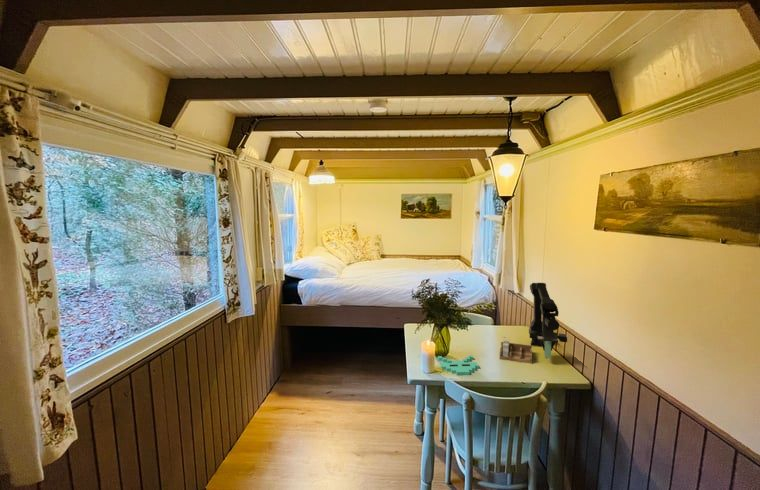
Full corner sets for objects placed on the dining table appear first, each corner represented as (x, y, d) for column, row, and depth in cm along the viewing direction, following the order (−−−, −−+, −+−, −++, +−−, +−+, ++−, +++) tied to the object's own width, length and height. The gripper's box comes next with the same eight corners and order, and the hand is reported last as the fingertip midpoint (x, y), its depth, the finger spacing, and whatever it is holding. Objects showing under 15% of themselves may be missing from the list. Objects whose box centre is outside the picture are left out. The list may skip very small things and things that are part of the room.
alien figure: (437, 359, 195) (444, 376, 175) (437, 356, 195) (444, 372, 175) (472, 359, 195) (482, 375, 175) (472, 355, 195) (482, 371, 175)
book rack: (501, 349, 206) (501, 337, 205) (531, 353, 199) (531, 340, 198) (499, 359, 193) (499, 345, 192) (531, 363, 186) (532, 349, 185)
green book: (544, 350, 194) (544, 337, 193) (549, 351, 192) (550, 337, 192) (544, 357, 184) (545, 343, 184) (550, 358, 183) (551, 344, 182)
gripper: (529, 326, 183) (529, 354, 185) (568, 330, 176) (567, 359, 177) (529, 320, 193) (529, 346, 195) (566, 324, 186) (565, 351, 187)
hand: (547, 350), depth 188 cm, fingers closed on green book, 3 cm apart
